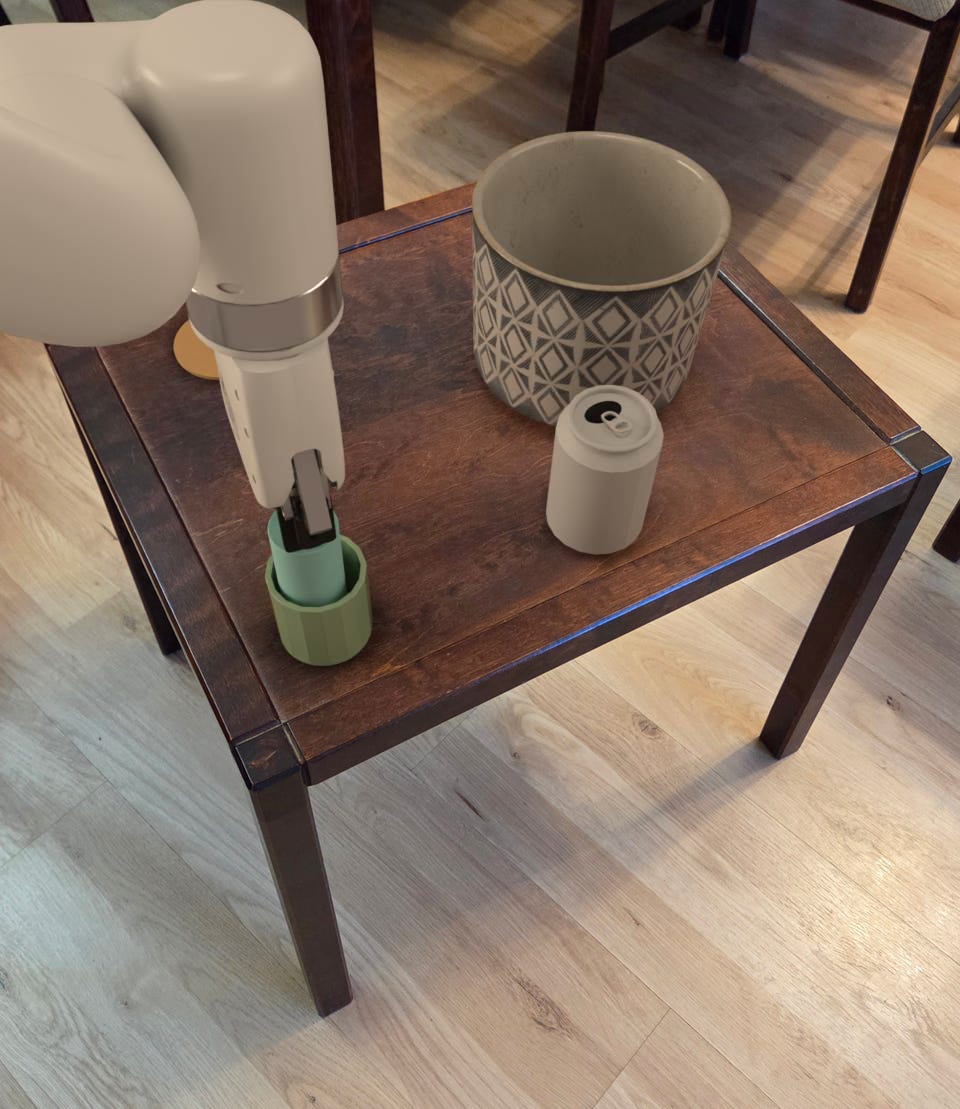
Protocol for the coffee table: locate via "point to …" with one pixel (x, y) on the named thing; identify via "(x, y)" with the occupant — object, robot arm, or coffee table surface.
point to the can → (603, 469)
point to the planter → (592, 268)
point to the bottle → (308, 569)
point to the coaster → (195, 354)
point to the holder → (326, 615)
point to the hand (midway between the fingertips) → (302, 519)
